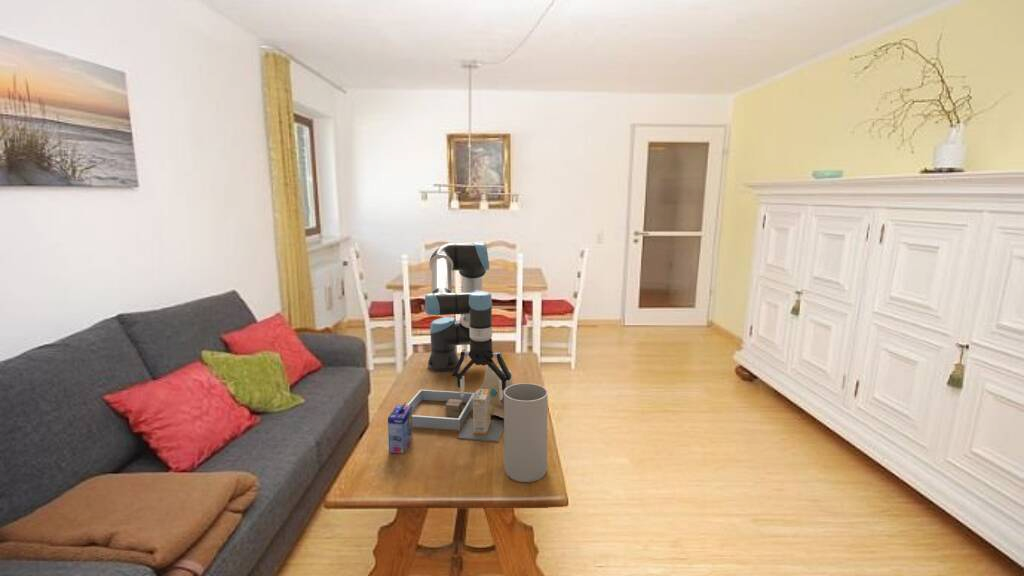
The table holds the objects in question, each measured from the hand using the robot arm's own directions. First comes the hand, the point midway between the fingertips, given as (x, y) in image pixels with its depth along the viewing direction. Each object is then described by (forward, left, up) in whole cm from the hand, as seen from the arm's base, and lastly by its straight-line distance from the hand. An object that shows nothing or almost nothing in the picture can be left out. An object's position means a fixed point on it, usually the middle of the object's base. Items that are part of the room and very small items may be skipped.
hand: (481, 397), depth 159 cm
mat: (0, 0, -12) cm, 12 cm away
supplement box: (0, 0, -12) cm, 12 cm away
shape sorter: (-12, +4, -12) cm, 18 cm away
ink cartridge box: (+14, -24, -12) cm, 31 cm away
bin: (-10, -19, -12) cm, 24 cm away
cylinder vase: (+22, +18, -12) cm, 31 cm away
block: (-10, -13, -12) cm, 20 cm away
